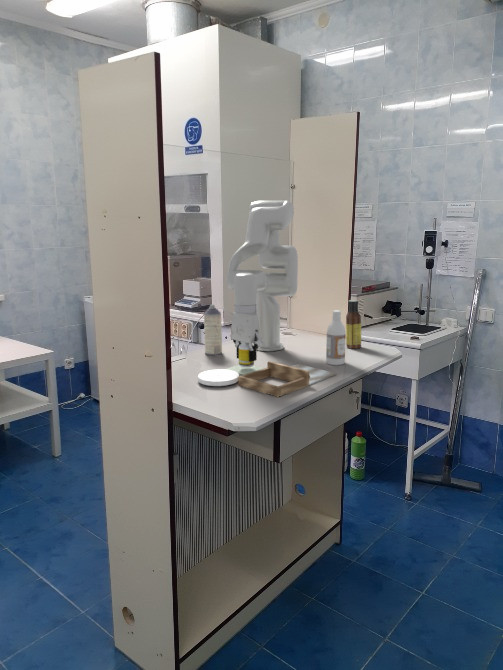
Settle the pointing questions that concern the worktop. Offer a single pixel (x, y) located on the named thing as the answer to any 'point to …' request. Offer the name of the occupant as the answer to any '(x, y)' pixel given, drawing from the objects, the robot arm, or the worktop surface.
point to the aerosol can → (213, 331)
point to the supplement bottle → (244, 355)
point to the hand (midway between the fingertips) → (246, 358)
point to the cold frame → (283, 378)
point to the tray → (244, 369)
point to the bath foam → (336, 341)
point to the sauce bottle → (353, 326)
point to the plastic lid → (218, 377)
